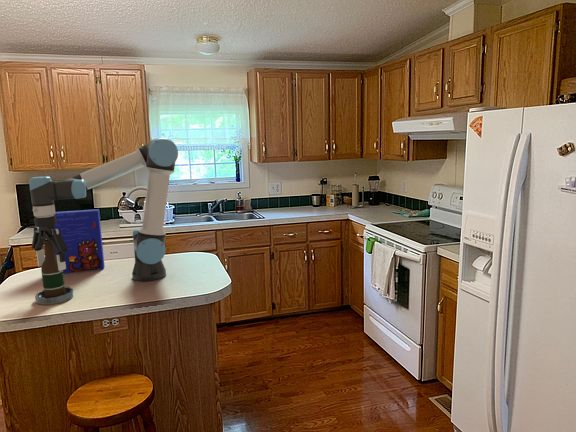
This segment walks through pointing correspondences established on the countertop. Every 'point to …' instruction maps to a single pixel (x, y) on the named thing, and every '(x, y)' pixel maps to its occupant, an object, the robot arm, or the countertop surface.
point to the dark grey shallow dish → (54, 300)
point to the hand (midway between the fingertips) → (52, 267)
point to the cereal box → (81, 240)
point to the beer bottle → (51, 273)
